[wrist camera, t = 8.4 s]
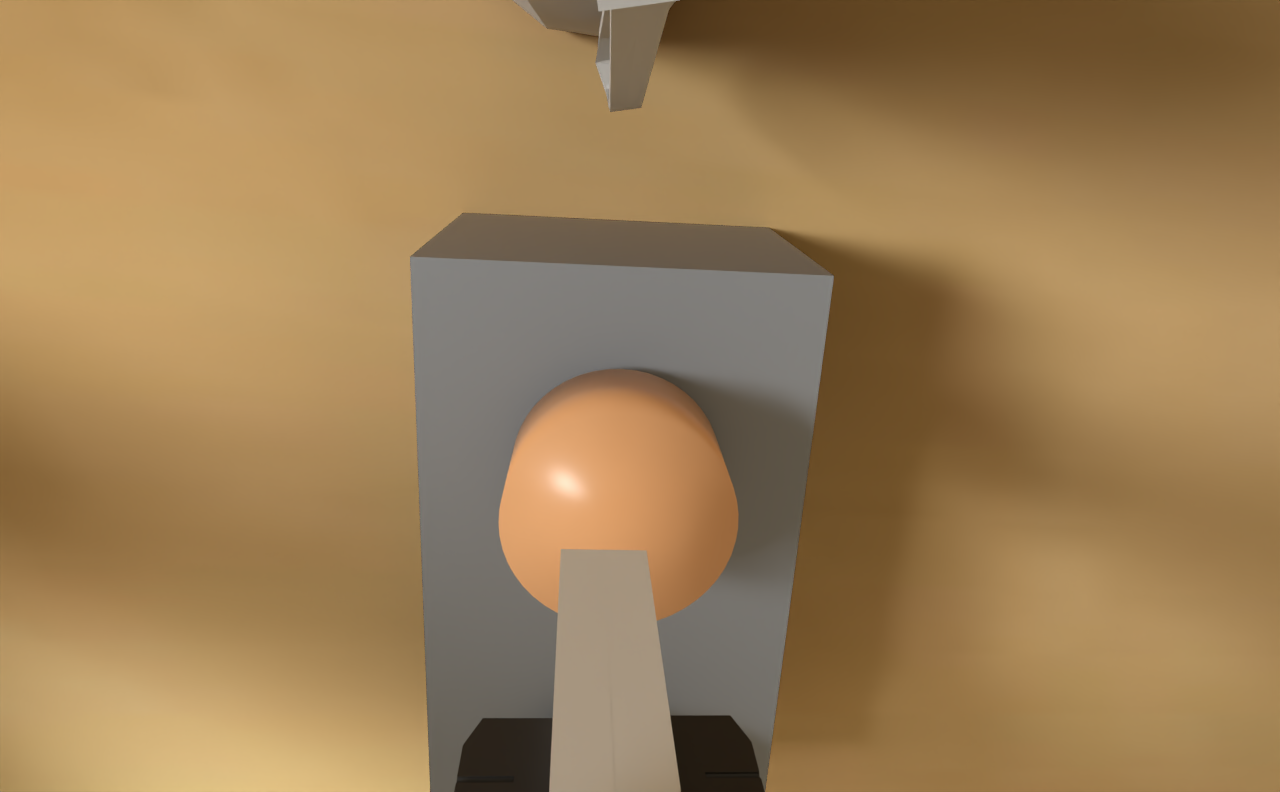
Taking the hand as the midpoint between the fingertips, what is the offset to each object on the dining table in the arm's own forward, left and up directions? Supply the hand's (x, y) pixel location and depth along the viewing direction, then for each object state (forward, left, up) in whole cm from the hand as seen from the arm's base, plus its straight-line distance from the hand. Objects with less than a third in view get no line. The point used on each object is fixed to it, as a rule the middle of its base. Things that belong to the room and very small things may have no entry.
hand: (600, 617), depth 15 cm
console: (0, -5, -15) cm, 16 cm away
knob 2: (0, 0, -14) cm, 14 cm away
